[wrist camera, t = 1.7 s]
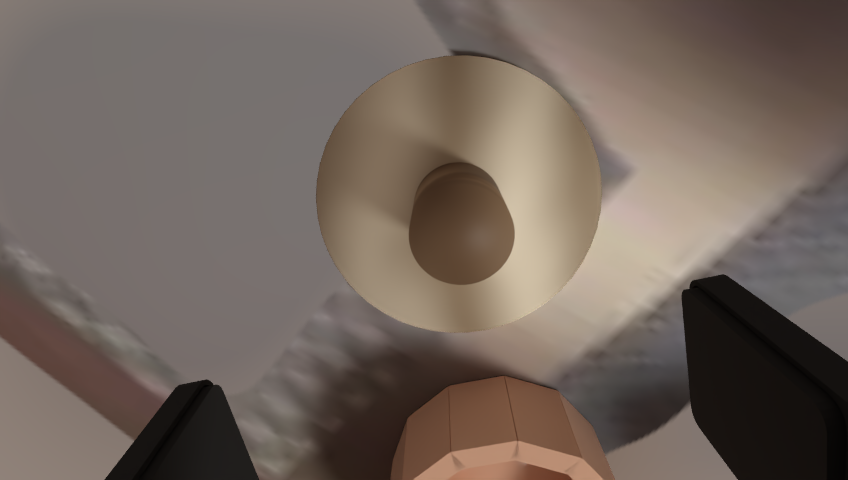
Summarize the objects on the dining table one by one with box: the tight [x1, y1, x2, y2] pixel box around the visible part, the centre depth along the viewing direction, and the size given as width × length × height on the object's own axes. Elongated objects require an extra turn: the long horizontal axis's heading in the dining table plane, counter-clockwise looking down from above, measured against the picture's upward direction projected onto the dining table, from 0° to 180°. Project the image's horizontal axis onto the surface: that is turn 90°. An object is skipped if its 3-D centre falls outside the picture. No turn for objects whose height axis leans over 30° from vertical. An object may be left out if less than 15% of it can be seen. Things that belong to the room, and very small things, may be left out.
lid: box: [316, 55, 602, 333], centre depth 23 cm, size 13×13×5 cm
